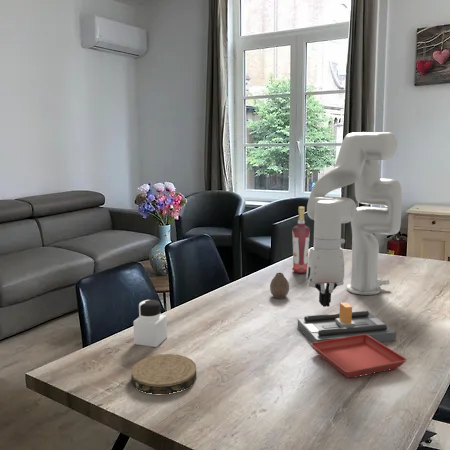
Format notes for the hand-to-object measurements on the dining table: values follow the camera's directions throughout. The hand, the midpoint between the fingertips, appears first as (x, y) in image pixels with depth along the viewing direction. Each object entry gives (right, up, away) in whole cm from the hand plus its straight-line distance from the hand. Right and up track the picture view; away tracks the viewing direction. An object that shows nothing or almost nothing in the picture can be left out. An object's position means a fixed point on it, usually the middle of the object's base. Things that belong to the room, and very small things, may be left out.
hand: (324, 305), depth 146 cm
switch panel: (+7, -9, +3) cm, 12 cm away
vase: (-9, -3, +36) cm, 38 cm away
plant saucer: (+6, -13, -14) cm, 20 cm away
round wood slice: (-44, -15, -22) cm, 52 cm away
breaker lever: (+7, -6, +3) cm, 10 cm away
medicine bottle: (-51, -11, -1) cm, 52 cm away
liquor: (+3, +3, +67) cm, 67 cm away
